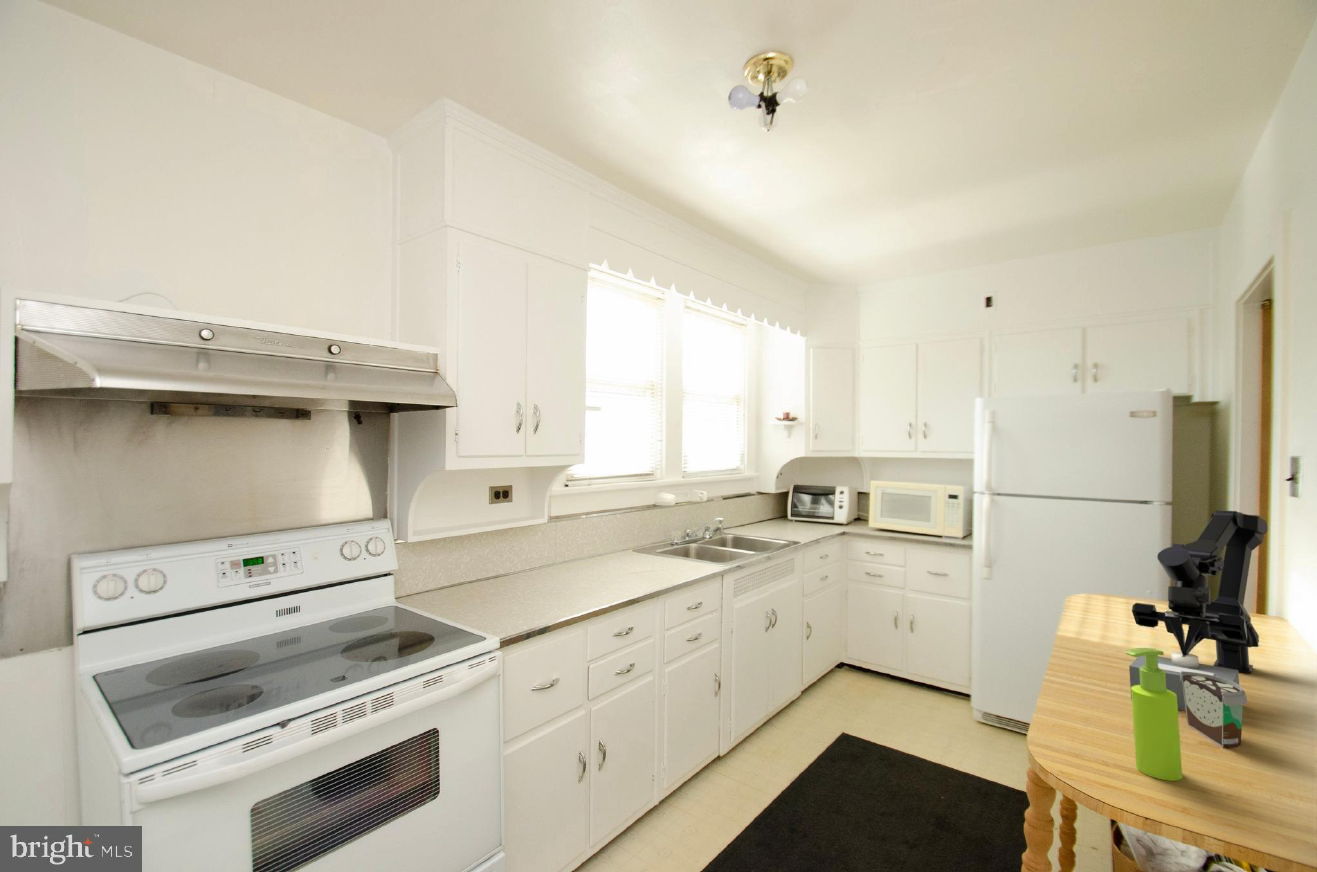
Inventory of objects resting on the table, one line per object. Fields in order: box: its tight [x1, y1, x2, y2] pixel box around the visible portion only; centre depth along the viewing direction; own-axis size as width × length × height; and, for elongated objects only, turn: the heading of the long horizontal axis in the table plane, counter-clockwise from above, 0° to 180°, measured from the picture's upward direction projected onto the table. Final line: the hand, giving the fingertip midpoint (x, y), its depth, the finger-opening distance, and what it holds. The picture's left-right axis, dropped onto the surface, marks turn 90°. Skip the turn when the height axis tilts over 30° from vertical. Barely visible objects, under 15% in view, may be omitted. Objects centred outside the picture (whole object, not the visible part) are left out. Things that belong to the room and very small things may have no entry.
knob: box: [1170, 651, 1200, 668], centre depth 129 cm, size 4×4×6 cm
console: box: [1128, 655, 1240, 712], centre depth 126 cm, size 12×16×7 cm
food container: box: [1180, 671, 1249, 749], centre depth 110 cm, size 12×6×10 cm, turn 168°
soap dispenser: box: [1124, 647, 1183, 782], centre depth 99 cm, size 6×7×20 cm
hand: (1184, 653), depth 129 cm, fingers closed, pressing on knob
